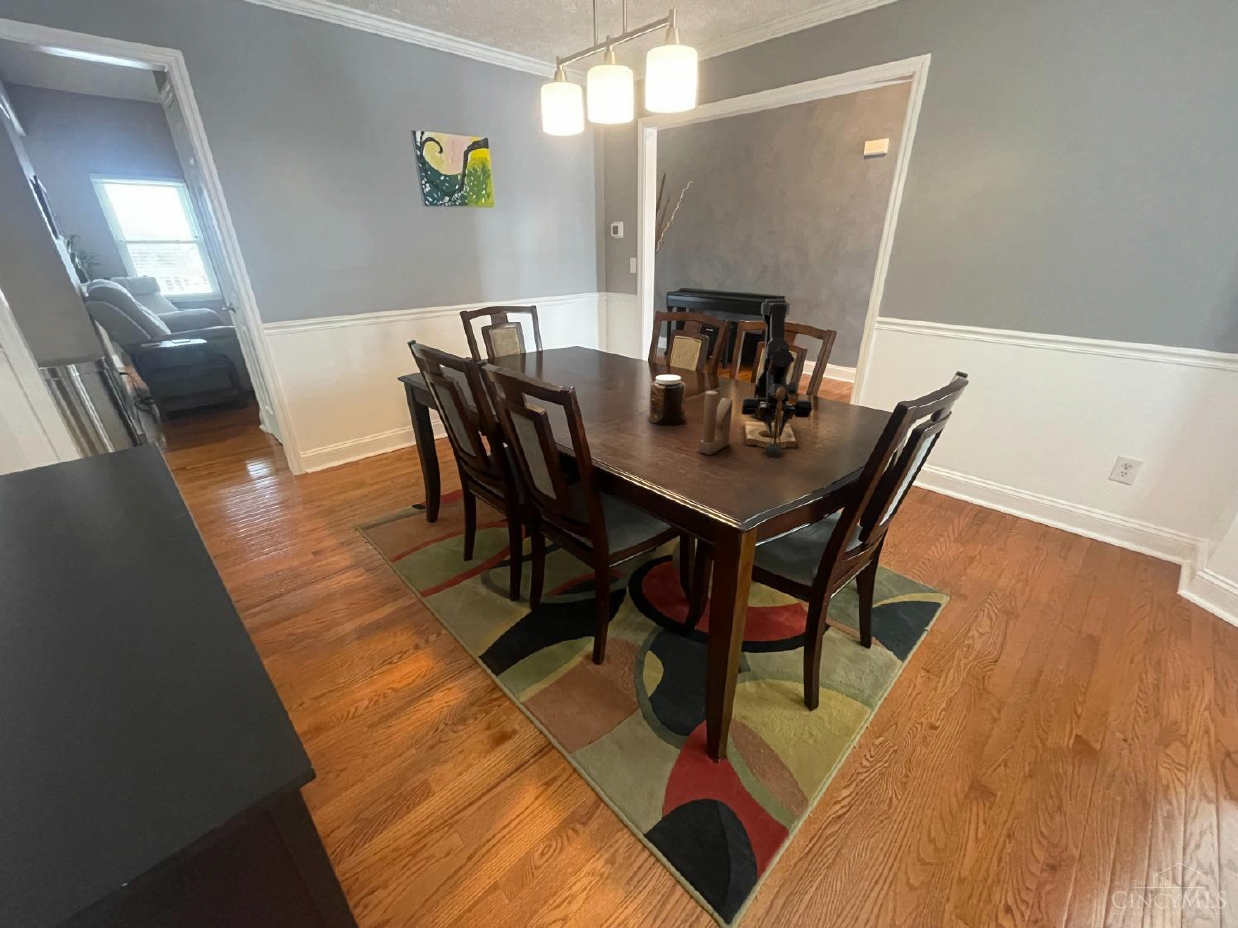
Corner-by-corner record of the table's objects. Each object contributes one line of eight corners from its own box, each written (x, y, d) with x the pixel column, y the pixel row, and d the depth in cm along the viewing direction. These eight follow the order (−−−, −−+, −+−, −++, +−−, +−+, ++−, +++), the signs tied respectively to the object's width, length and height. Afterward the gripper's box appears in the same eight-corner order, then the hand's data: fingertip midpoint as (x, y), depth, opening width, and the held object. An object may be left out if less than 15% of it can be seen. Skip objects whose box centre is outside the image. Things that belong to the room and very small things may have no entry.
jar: (666, 427, 163) (667, 383, 157) (643, 419, 171) (643, 377, 165) (691, 420, 170) (693, 377, 163) (667, 412, 178) (668, 371, 172)
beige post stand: (729, 445, 148) (734, 387, 141) (709, 455, 141) (713, 394, 134) (718, 442, 150) (722, 384, 143) (698, 452, 143) (702, 392, 136)
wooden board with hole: (744, 427, 163) (745, 421, 162) (788, 429, 160) (789, 423, 159) (747, 446, 147) (747, 440, 146) (795, 449, 144) (796, 443, 144)
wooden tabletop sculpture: (774, 459, 138) (782, 390, 130) (759, 454, 141) (767, 387, 133) (785, 453, 142) (794, 386, 133) (770, 449, 145) (779, 383, 137)
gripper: (746, 370, 137) (744, 420, 132) (816, 372, 134) (817, 423, 128) (742, 390, 147) (740, 437, 142) (807, 392, 144) (808, 441, 139)
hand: (775, 434), depth 137 cm, fingers closed
